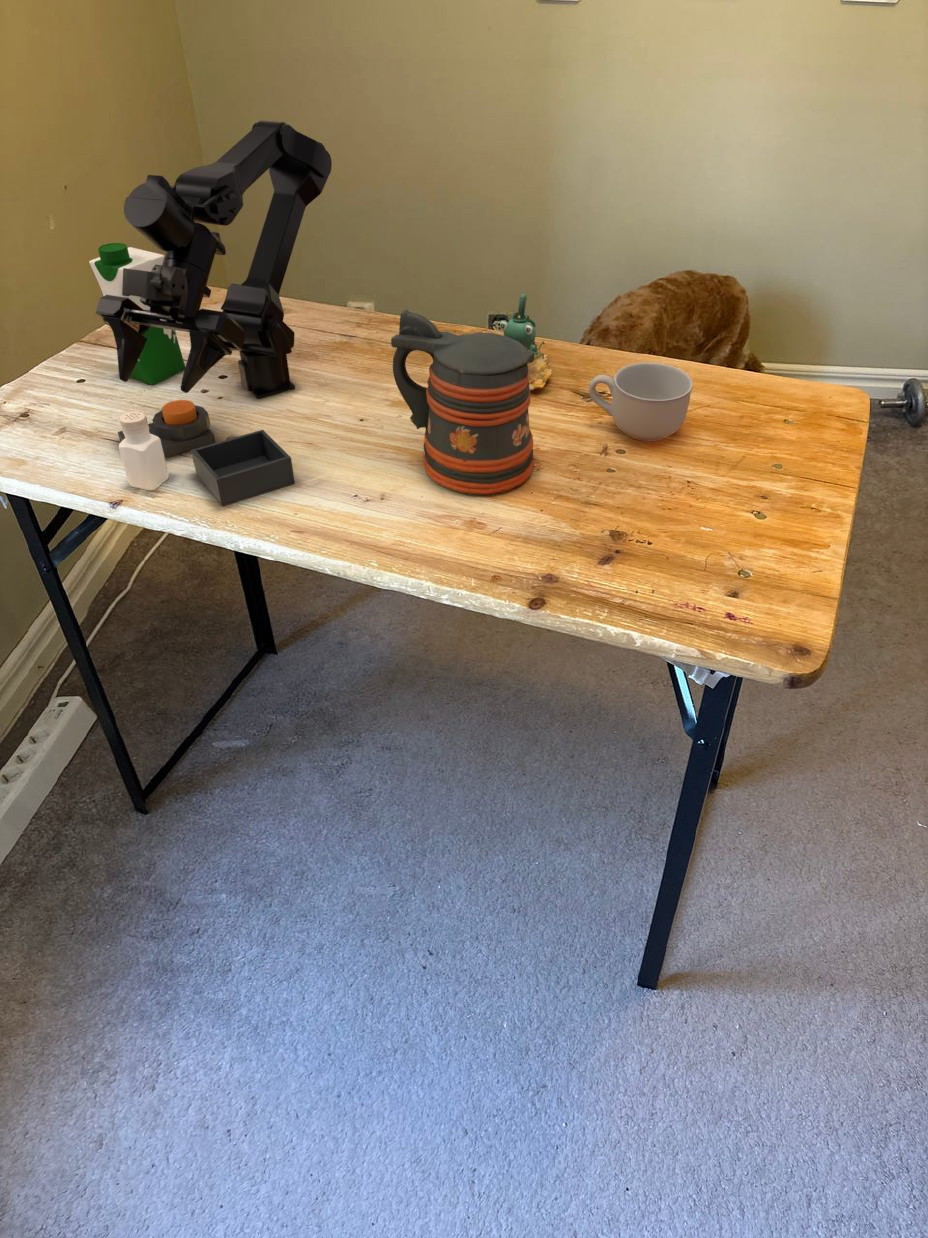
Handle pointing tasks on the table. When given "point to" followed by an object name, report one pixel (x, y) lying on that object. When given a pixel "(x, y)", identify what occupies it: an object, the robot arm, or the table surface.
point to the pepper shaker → (141, 453)
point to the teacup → (646, 399)
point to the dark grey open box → (243, 467)
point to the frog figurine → (527, 344)
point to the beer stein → (468, 406)
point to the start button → (179, 412)
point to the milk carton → (162, 344)
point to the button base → (181, 433)
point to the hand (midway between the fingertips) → (153, 386)
